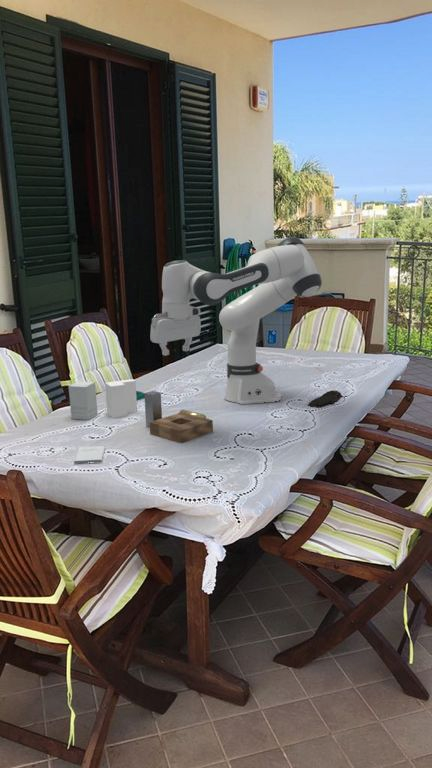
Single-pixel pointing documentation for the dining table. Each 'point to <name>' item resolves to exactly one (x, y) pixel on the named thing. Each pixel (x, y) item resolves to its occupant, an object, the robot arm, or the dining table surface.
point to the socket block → (181, 427)
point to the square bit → (152, 407)
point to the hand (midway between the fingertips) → (176, 352)
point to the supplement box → (83, 400)
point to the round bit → (193, 413)
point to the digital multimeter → (139, 395)
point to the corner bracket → (121, 398)
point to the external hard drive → (90, 454)
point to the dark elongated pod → (326, 399)
